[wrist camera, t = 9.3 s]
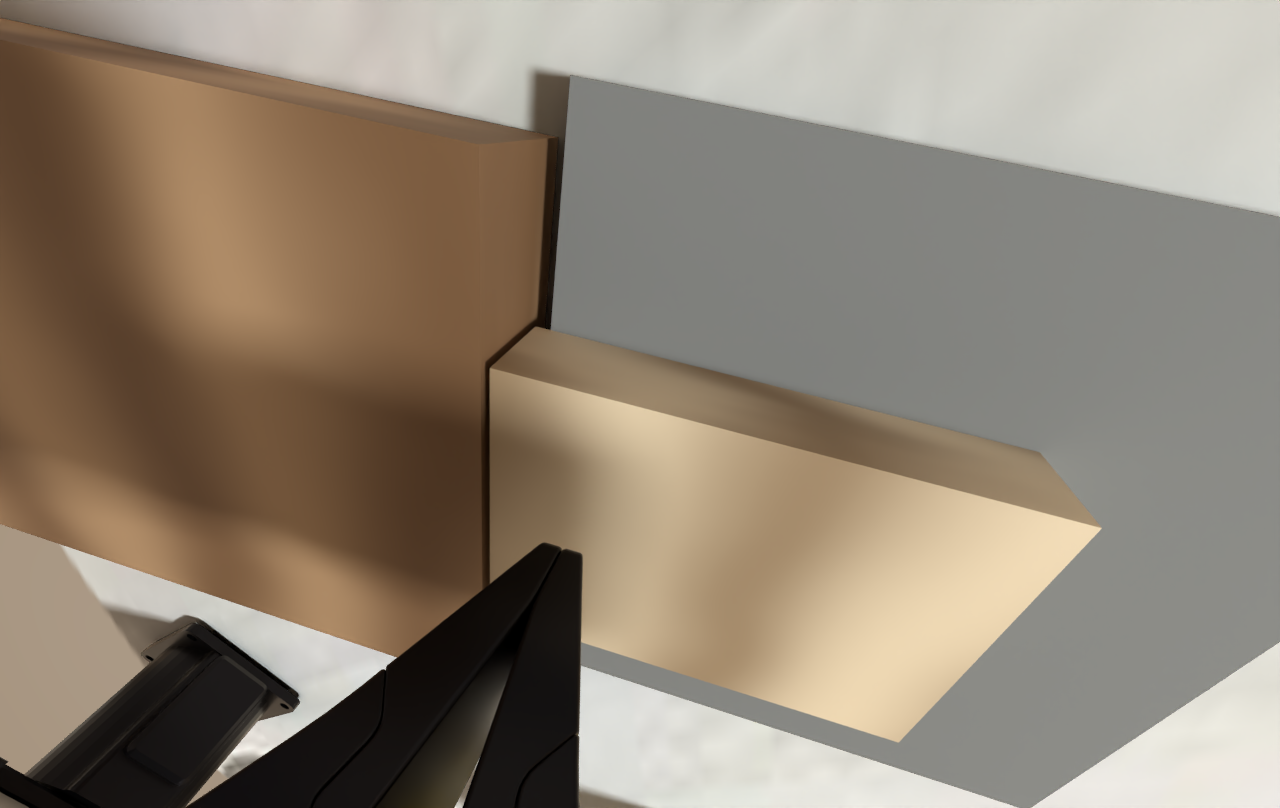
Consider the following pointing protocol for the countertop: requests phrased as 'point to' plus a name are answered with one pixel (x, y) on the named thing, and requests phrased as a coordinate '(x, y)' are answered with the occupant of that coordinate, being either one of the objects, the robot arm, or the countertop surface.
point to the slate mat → (968, 387)
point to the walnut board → (258, 328)
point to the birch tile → (770, 528)
